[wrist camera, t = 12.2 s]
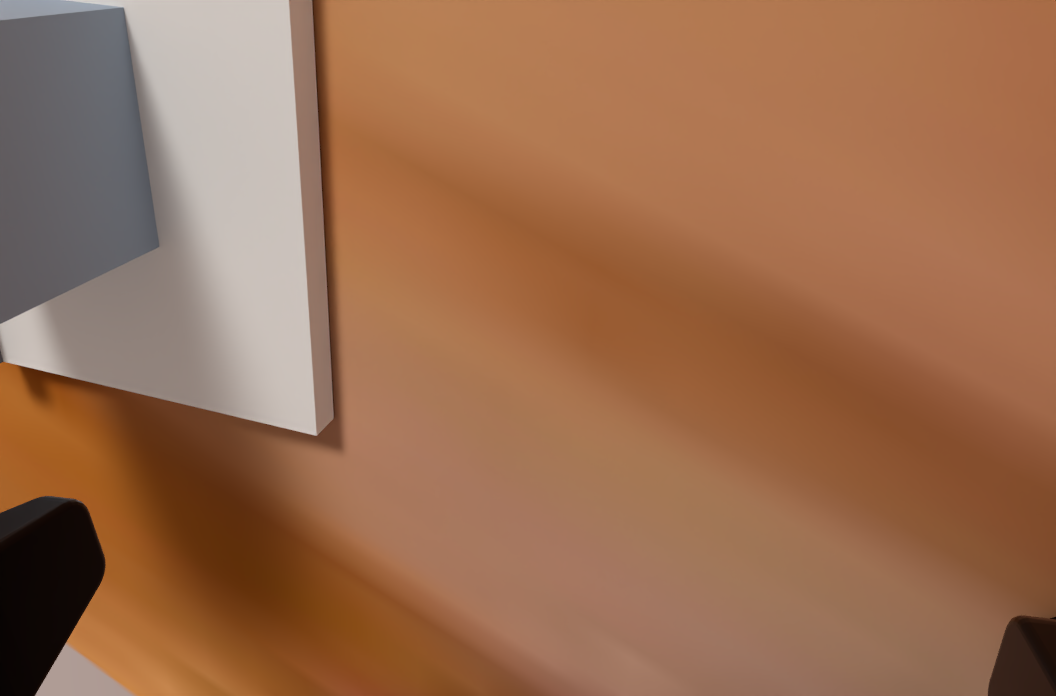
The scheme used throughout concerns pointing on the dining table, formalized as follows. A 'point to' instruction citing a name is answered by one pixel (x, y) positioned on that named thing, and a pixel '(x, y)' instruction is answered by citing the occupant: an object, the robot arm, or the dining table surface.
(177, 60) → the white rectangular slab
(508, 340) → the dining table surface
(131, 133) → the tea box
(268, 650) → the dining table surface
